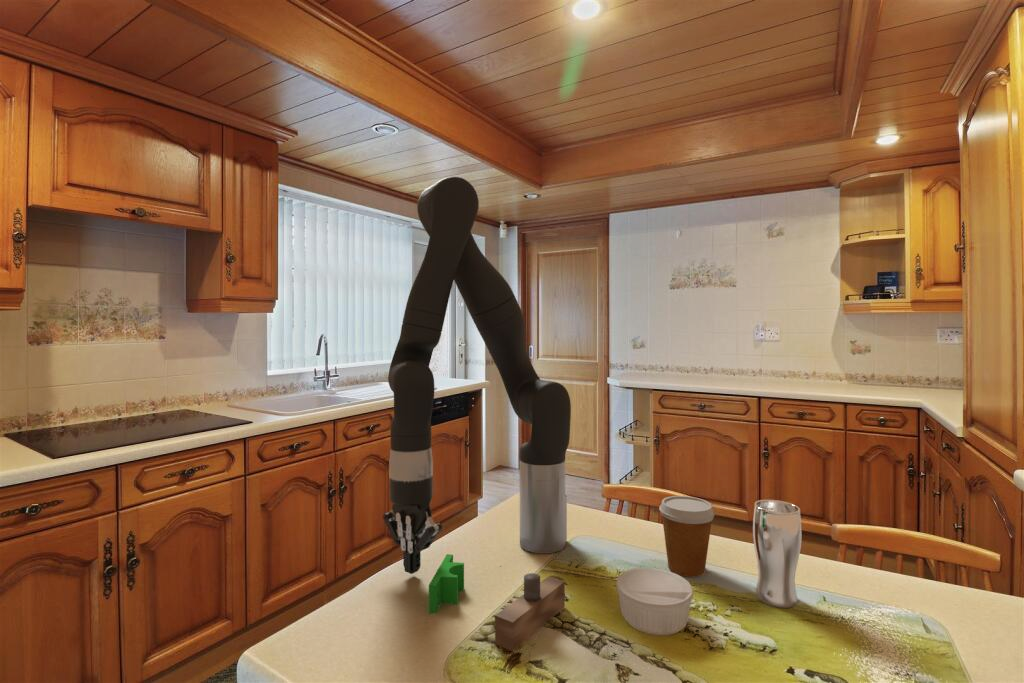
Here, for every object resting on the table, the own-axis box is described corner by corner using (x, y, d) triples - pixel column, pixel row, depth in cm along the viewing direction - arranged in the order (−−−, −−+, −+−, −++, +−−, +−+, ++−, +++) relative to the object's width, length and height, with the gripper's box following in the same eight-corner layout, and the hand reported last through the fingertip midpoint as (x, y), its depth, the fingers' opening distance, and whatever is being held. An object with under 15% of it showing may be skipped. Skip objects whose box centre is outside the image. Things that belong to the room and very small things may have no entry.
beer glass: (799, 593, 85) (799, 502, 85) (802, 614, 79) (803, 516, 79) (752, 584, 88) (753, 496, 88) (752, 604, 82) (753, 509, 82)
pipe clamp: (452, 616, 79) (452, 586, 79) (428, 614, 80) (428, 585, 79) (467, 580, 90) (467, 554, 90) (446, 579, 91) (446, 553, 91)
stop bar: (548, 600, 83) (548, 557, 83) (564, 606, 81) (564, 562, 81) (495, 644, 72) (495, 593, 71) (512, 651, 70) (512, 600, 70)
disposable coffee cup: (709, 586, 88) (710, 516, 87) (653, 573, 92) (653, 506, 92) (718, 564, 96) (718, 500, 96) (665, 553, 101) (666, 492, 100)
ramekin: (651, 649, 70) (651, 611, 70) (601, 610, 80) (601, 576, 80) (710, 627, 76) (710, 592, 76) (655, 593, 86) (656, 561, 85)
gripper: (453, 474, 90) (454, 573, 90) (401, 463, 98) (402, 554, 98) (422, 485, 84) (423, 591, 84) (369, 472, 92) (370, 569, 92)
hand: (411, 571), depth 91 cm, fingers closed
